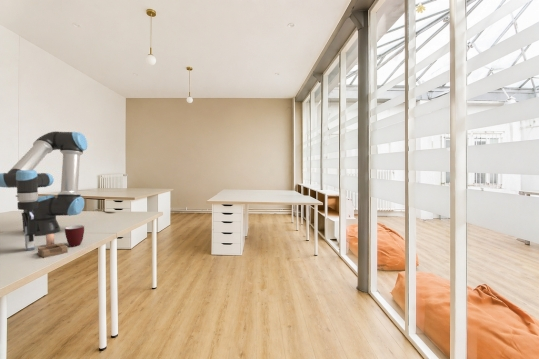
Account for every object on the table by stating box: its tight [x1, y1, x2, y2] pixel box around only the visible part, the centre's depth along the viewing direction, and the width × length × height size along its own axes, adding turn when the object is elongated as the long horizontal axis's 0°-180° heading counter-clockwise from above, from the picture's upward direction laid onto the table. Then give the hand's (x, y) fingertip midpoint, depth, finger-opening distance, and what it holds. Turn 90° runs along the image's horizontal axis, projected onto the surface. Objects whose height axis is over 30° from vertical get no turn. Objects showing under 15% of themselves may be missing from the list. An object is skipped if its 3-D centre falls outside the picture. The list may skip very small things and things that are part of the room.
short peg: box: [45, 233, 55, 246], centre depth 133 cm, size 3×3×6 cm
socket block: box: [37, 242, 69, 258], centre depth 122 cm, size 9×9×3 cm
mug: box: [64, 224, 85, 247], centre depth 135 cm, size 10×8×10 cm
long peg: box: [24, 226, 36, 252], centre depth 126 cm, size 3×3×12 cm
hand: (30, 246), depth 127 cm, fingers closed on long peg, 3 cm apart
